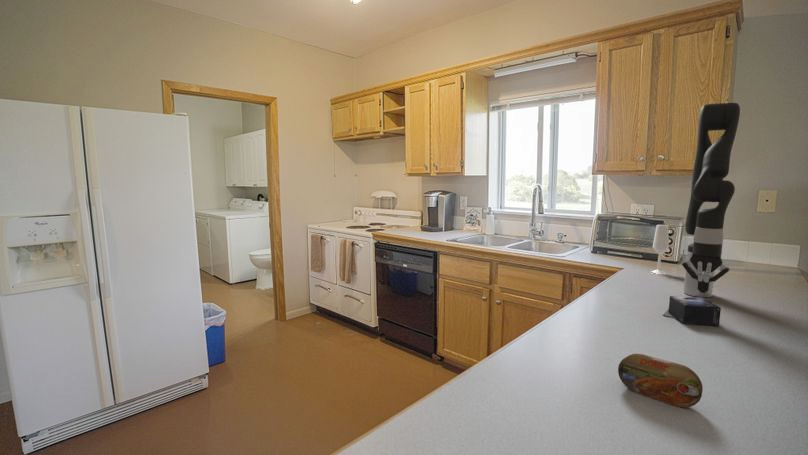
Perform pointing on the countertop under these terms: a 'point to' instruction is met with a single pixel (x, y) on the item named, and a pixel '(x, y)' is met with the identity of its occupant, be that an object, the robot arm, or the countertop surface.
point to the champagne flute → (660, 244)
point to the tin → (661, 380)
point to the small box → (694, 310)
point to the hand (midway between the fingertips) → (702, 292)
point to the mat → (668, 314)
